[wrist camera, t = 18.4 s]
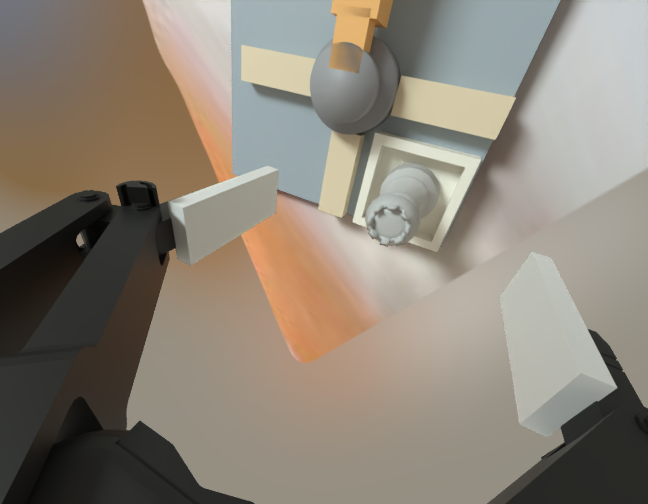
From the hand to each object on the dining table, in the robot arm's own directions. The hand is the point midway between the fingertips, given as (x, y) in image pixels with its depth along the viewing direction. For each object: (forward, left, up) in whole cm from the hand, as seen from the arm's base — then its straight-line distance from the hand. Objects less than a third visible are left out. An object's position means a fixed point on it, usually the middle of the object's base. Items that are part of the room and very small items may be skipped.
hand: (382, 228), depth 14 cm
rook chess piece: (0, 0, -10) cm, 10 cm away
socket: (0, 0, -10) cm, 10 cm away
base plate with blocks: (-6, -7, -11) cm, 14 cm away
